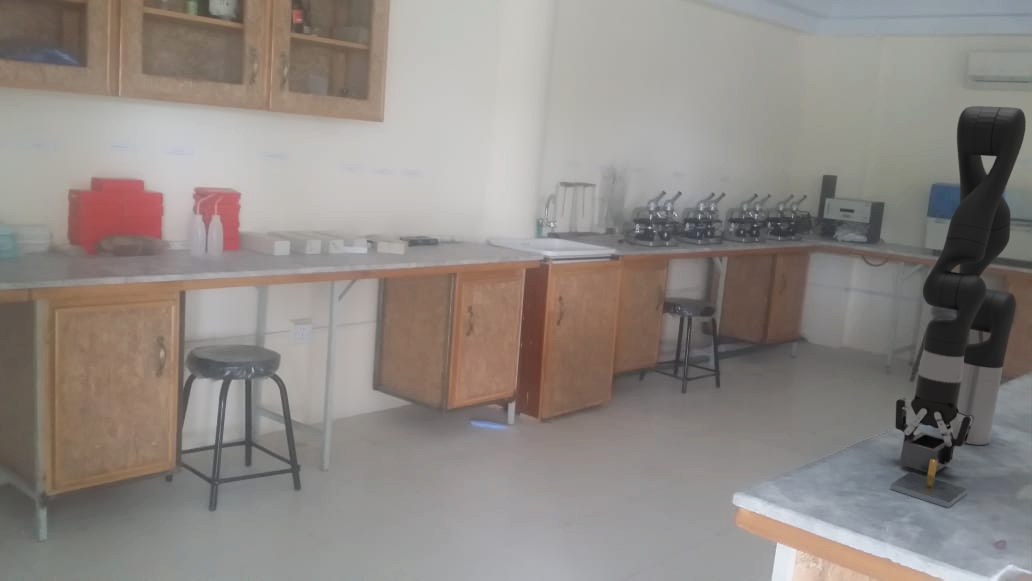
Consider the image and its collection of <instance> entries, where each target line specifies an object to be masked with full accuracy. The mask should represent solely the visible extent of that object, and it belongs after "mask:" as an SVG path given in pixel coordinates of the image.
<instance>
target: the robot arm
mask: <svg viewBox="0 0 1032 581" xmlns="http://www.w3.org/2000/svg"><path fill="white" fill-rule="evenodd" d="M1026 123H1027V122H1026V116H1025V113H1024V110H1022V109H1021V108H1017V107H1011V106H1010V107H1006V106H988V105H987V106H984V105H979V106H978V105H976V106H974V105H972V106H967V107H965V108H964V109H963V110H962V112H961V113H960V115H959V117H958V122H957V128H956V129H957V130H956V147H957V150H956V151H957V160H958V171H959V191H960V192H959V204H958V205H957V207H956V208H955V210H954V212H953V214H952V216H951V219H950V222H949V224H948V229H947V234H946V237H945V238H946V239H945V240H944V241H945V242H944V246H943V247H942V250H941V253H940V254H939V257H938V259H937V261H936V262H935V264H934V266H933V268H932V269H931V270H930V272H929V274H928V275H927V277H926V279H925V281H924V283H923V287H922V295H923V296H922V297H923V299H924V301H925V302H926V304H927V305H929V306H932V307H936V308H941V309H947V310H952V311H955V315H956V316H955V318H954V319H937V320H932V321H930V322H929V324H928V326H927V329H926V333H925V334H926V336H925V340H924V346H923V351H922V355H921V358H920V361H919V362H920V363H919V366H918V373H917V374H918V375H917V382H916V387H915V393H914V397H913V399H912V400H911V399H906V398H905V397H901V398H899V399H898V400H896V402H895V403H896V404H895V424H894V425H895V426H894V428H895V429H896V430H900V431H901V432H903V434H904V438H903V442H904V441H906V440H908V439H910V438H912V437H914V436H915V435H916V434H914V433H915V432H916V430H917V429H918V428H919V427H920V426H921V425H923V426H930V427H933V429H938V430H939V433H940V435H941V436H942V438H943V439H944V442H945V445H944V449H943V455H942V461H941V464H944V465H946V464H947V463H949V462H950V461H951V462H952V460H953V457H954V451H955V447H962V446H963V445H965V444H968V445H969V444H970V445H977V446H978V445H979V446H985V445H988V444H989V443H990V440H991V434H992V429H993V424H994V419H995V412H996V408H997V402H998V398H999V397H998V396H999V391H1000V386H1001V385H1000V384H1001V380H1002V374H1003V368H1004V363H1005V359H1006V358H1005V357H1006V354H1007V348H1008V343H1009V338H1010V335H1011V331H1012V326H1013V323H1014V318H1015V313H1016V309H1017V301H1016V297H1015V295H1014V294H1013V293H1012V292H1008V291H1002V290H997V289H990V288H987V286H986V283H985V281H984V280H983V278H982V277H981V275H982V273H984V271H985V270H986V269H987V268H988V267H989V265H990V264H991V263H993V262H994V261H995V260H996V259H997V258H998V256H1000V254H1001V253H1003V251H1004V250H1005V248H1006V247H1008V246H1007V245H1008V243H1009V241H1010V238H1011V236H1010V235H1011V209H1010V207H1009V205H1008V203H1007V201H1006V199H1005V198H1004V196H1003V194H1004V192H1005V189H1006V188H1007V185H1008V183H1009V179H1010V177H1011V175H1012V172H1013V169H1014V167H1015V165H1016V162H1017V159H1018V156H1019V154H1020V152H1021V149H1022V148H1021V147H1022V145H1023V141H1024V138H1025V135H1026V134H1025V133H1026ZM982 156H986V157H996V158H995V160H994V162H993V165H992V167H991V168H990V170H989V172H988V173H987V172H986V170H985V167H984V164H983V159H982ZM958 265H959V270H958V272H956V271H953V269H955V268H956V267H957V266H958ZM970 330H973V331H978V332H983V333H987V334H990V335H989V338H988V339H987V340H984V341H981V342H977V343H967V342H968V337H969V333H970ZM910 407H911V409H912V410H913V413H914V414H915V417H914V418H913V419H912V420H911V421H910V422H909V424H907V412H908V410H909V409H910ZM951 462H950V463H951ZM950 463H949V464H950ZM946 466H947V465H946Z"/></svg>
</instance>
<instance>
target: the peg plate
mask: <svg viewBox="0 0 1032 581" xmlns="http://www.w3.org/2000/svg"><path fill="white" fill-rule="evenodd" d="M936 467H937V460H935V459H930V464H929V469H928V473H927V475H923V474H920V473H916V472H913V471H910V472H908V473H906V474H905V475H904V476H902V477H900V478H898V479H897V480H895V481H894V482H892V483H891V484H890V488H889V489H890V490H891V491H895V492H898V493H901V494H904V495H907V496H910V497H913V498H917V499H920V500H923V501H926V502H929V503H932V504H935V505H938V506H942V507H944V508H947V509H949V508H950V507H952V505H954V504H955V503H957V502H958V501H960V500H961V499H963V497H965V496H966V495H967V493H968V488H966V487H962V486H959V485H955V484H952V483H950V482H949V483H948V482H946V481H944V480H943V481H942V480H940V479H935V477H936V473H937V472H936Z"/></svg>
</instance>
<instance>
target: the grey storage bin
mask: <svg viewBox="0 0 1032 581" xmlns="http://www.w3.org/2000/svg"><path fill="white" fill-rule="evenodd" d="M902 443H903V444H902V449H901V455H900V459H899V460H900V461H899V465H902V466H905V467H908V468H911V469H915V470H918V471H921V472H924V473H927V474H928V469H929V464H930V459H935V460H937V467H936V473H937V472H939V471H940V470H942V469H943V468H945V467H946V466H947V465H949V464H951V462H952V460H951V461H950V462H949V463H947V464H946V465H944V464H941V461H942V455H943V449H944V445H945V442H944V439H943V437H941V436H937V435H934V434H931V433H926V432H923V431H921V432H919V433H917V434H915V436H914V437H912V438H910V439H908V440H906V441H904V440H903V442H902Z"/></svg>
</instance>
